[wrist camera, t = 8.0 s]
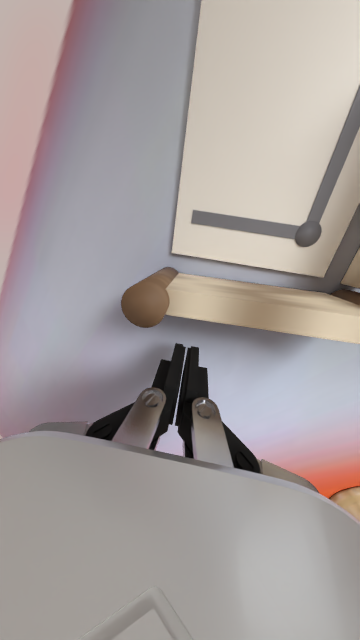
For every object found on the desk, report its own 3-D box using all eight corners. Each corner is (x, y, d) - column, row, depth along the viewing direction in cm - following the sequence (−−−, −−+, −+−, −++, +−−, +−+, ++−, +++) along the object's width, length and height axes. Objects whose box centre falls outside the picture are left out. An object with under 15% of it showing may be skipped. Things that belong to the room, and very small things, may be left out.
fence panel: (327, 288, 11) (448, 327, 6) (316, 313, 12) (413, 369, 7) (157, 265, 12) (120, 281, 6) (155, 290, 13) (121, 324, 7)
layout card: (207, -43, 7) (207, -59, 7) (462, -21, 7) (476, -36, 6) (172, 252, 12) (171, 252, 11) (320, 277, 11) (324, 277, 11)
